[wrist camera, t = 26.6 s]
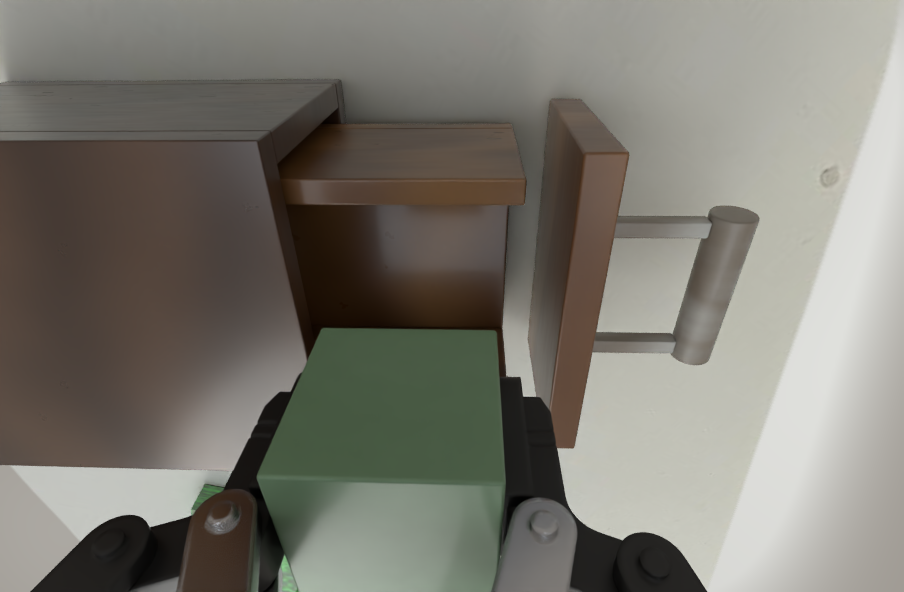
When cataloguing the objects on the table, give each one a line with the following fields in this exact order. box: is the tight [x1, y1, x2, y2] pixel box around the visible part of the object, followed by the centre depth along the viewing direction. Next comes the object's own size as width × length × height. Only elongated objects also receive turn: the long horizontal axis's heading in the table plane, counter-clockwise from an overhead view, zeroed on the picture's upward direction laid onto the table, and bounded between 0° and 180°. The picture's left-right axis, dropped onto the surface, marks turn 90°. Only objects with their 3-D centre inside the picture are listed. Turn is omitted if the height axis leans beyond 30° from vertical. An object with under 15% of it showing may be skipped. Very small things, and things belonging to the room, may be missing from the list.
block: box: [257, 328, 506, 592], centre depth 12 cm, size 4×4×4 cm
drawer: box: [277, 99, 759, 448], centre depth 19 cm, size 18×12×7 cm, turn 91°
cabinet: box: [0, 79, 346, 471], centre depth 19 cm, size 14×13×9 cm
